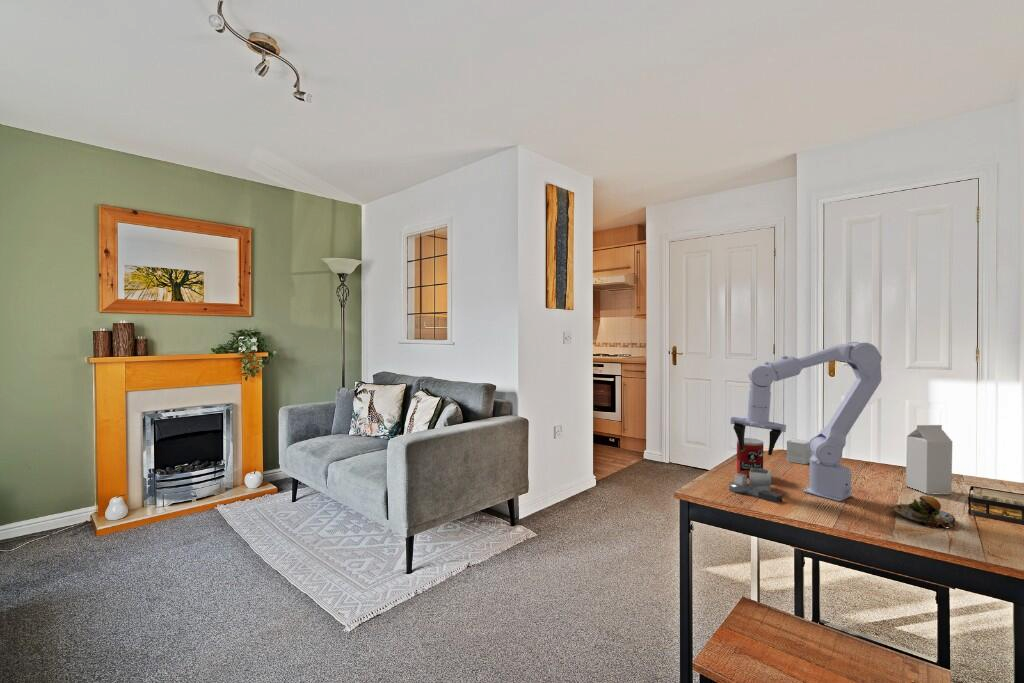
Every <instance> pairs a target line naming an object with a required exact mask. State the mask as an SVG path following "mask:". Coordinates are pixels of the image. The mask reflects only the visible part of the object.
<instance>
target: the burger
mask: <svg viewBox="0 0 1024 683" xmlns="http://www.w3.org/2000/svg"><path fill="white" fill-rule="evenodd" d="M937 492H938V491H937ZM936 495H937V494H934V496H929V495H921V496H919V501H918V500H917V499H913V502H911V503H909V504H908V503H907V504H903V503H900V504H899V503H898V504H895V505H893V506H892V509H893V510H894V511H895V512H896V513H898V515H900V516H902V517H904V518H907V519H909V520H911V521H914V522H917V523H923V524H925V527H927V526H929V527H928V528H930V527H937V528H938V526H939V525H941V526H942V527H943V528H944V529H947V528H946V527H952V528H953V527H955V524H956V517H954V515H952V514H950V513H949V512H946V511H942V510H941V508H942V506H941V503H940V502H939V500H938V499H936V498H935V497H936Z"/></svg>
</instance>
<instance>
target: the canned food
mask: <svg viewBox="0 0 1024 683" xmlns="http://www.w3.org/2000/svg"><path fill="white" fill-rule="evenodd" d="M751 467H752V468H760V469H764V441H763V440H761V439H757V438H750V437H744V449H743V450H740V447H739V441H738V438H737V440H736V474H737V473H741V474H745V475H747V479H748V478H749V472H750V468H751Z"/></svg>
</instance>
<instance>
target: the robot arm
mask: <svg viewBox="0 0 1024 683" xmlns="http://www.w3.org/2000/svg"><path fill="white" fill-rule="evenodd" d="M780 357H781V358H780V359H775V360H773V361H771V362H768V361H765V362H764V363H763V364H764V365H755V366H753V367H752V368H751V369H750V371H749V373H748V378H749V381H750V383H749V390H748V400H747V401H748V402H747V415H746V416H747V417H737V416H732V417H731V418H730V424H731V425H733V430H734V432H735V434H736V438H737V439H738V441H739V447H740V450H743V449H744V438H745V434H746V428H747V427H751V428H756V429H757V428H759V429H764V430H769V445H768V450H767V451H768V456H772V454H773V451H774V448H775V446H776V444H777V441H778V439H779V437H780V436H781V434H782V433H786V432H787V424H785V423H778V422H774V421H770V413H771V412H770V409H771V396H772V393H771V385H772V383H773V382H778V381H782V380H783V381H784V380H785V379H789V378H791V377H796V376H798V375H800V374H801V372H802V370H803V369H806V368H809V367H814V366H817V365H821V364H824V363H828V362H833V361H837V362H845V363H846V364H847V365H849V366H850V368H851V369H852V372H853V374H854V376H855V377H856V378H855V381H854V382H853V383H852V385H851V387H850V388H849V390H848V392H847V393H846V394H845V397H844V398H843V399H842V401H841V402H840V404H839V406H838V407H837V409H836V410H835V412H834V414H833V415H832V417H831V418H830V419H829V421H828V423H827V425H826V426H825V427H823V428H822V429H820V430H819V432H818V434H817V435H815V436H813V437H811V439H809V440H808V441H809V450H810V451H811V458H810V462H809V483H808V484H809V487H807V488H805V489H802V491H803V493H807V494H811V495H814V496H818V497H822V498H825V499H831V500H832V501H833V500H834V501H837V502H842V501H844V500H846V499H847V498H850V497H852V496H853V494H852V471H851V468H849V466H848V467H847V466H844V465H842V464H841V460H842V458H843V450H844V448H845V447H846V445H847V444H846V443H847V436H848V435H849V432H851V430H852V428H853V426H854V424H855V423H856V422H857V420H858V418H859V417H860V415H861V414H862V413H863V411H864V409H865V408H866V406H867V404H868V403H869V401H870V400H871V398H872V396H873V395H874V393H875V392H876V390H877V389H878V388H879V386H880V384H881V382H882V364H881V362H882V359H883V357H882V355H881V354H880V352H879V350H878V347H877V346H875V345H874V344H872V343H869V342H858V341H851V342H848V343H841V344H837V345H833V346H829V347H827V348H824V349H821V350H818V351H815V352H812V353H809V354H807V355H804V356H802V357H798V358H797V357H795V356H793V355H790V356H787V355H782V356H780Z"/></svg>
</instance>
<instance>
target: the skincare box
mask: <svg viewBox="0 0 1024 683" xmlns="http://www.w3.org/2000/svg"><path fill="white" fill-rule="evenodd" d="M809 441H810V440H805V439H799V438H791V439H788V440H786V462H790V463H794V464H795V463H796V464H801V465H807V464H810V458H811V457H812V453H811V451H810V450H809Z"/></svg>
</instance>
